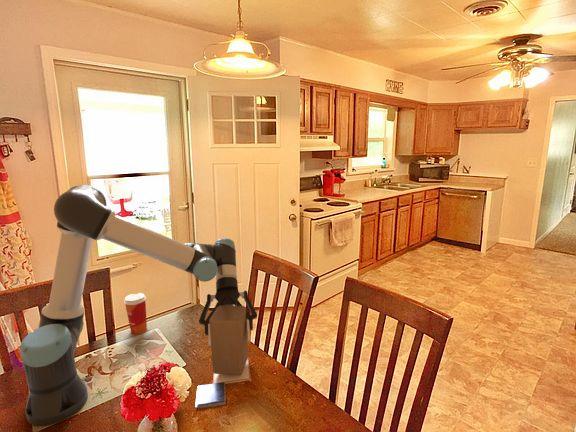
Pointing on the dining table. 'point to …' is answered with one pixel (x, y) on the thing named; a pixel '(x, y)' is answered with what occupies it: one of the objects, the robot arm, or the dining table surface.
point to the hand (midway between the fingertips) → (229, 343)
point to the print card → (233, 376)
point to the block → (229, 339)
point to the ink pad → (210, 395)
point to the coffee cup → (136, 312)
